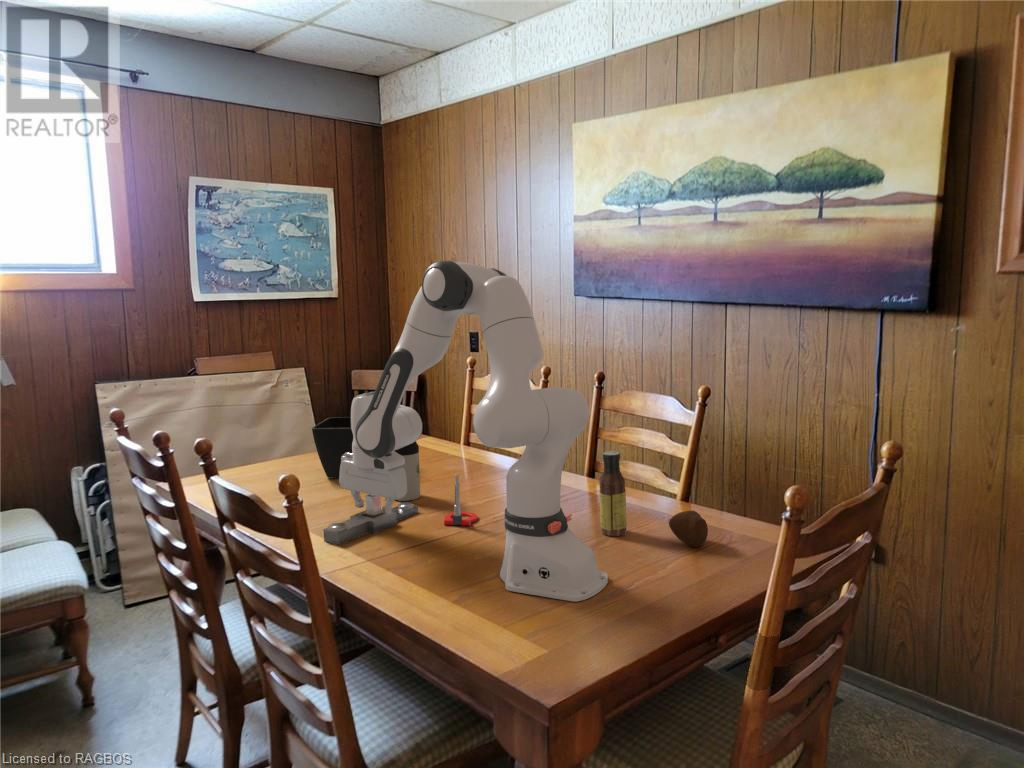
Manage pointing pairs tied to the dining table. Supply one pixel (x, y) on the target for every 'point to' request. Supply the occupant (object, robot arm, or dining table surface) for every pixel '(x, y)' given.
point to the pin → (373, 506)
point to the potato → (689, 527)
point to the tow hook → (459, 511)
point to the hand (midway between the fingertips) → (373, 510)
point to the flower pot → (333, 443)
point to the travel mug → (411, 470)
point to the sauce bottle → (612, 496)
